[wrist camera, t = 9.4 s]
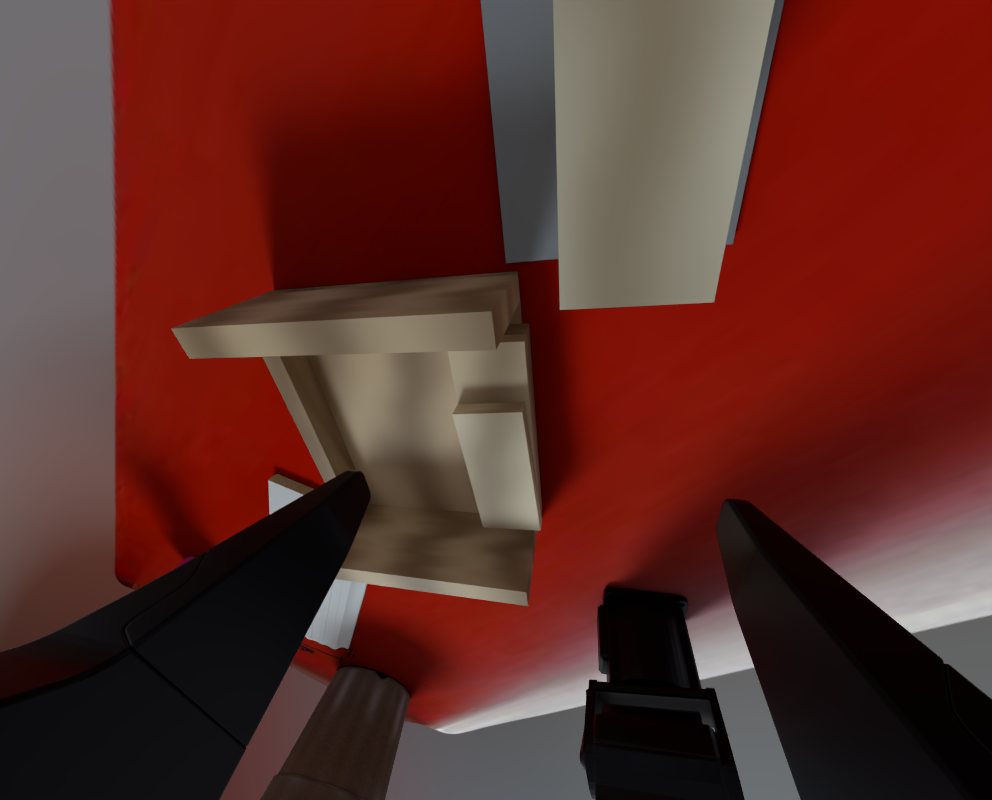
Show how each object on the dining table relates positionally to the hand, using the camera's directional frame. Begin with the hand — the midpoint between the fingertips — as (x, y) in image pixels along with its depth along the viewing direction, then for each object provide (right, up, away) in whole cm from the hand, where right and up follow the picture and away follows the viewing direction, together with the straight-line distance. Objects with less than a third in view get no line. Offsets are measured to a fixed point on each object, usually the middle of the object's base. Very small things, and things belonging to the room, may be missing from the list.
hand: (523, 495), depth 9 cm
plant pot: (-20, -41, +46) cm, 65 cm away
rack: (-6, +1, +16) cm, 17 cm away
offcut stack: (0, 0, +14) cm, 14 cm away
